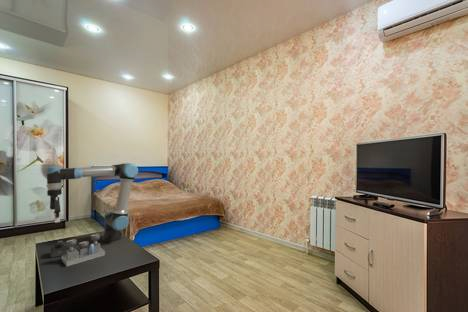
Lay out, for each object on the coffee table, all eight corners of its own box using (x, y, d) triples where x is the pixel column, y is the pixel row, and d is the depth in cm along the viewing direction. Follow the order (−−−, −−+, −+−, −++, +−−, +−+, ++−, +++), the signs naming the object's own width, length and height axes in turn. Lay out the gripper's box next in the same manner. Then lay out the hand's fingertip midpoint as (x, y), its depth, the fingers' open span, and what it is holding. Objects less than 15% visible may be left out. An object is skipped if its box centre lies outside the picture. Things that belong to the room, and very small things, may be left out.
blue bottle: (93, 252, 153) (93, 243, 153) (94, 253, 151) (94, 244, 151) (89, 253, 151) (89, 244, 151) (90, 254, 150) (90, 245, 150)
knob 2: (98, 242, 161) (98, 232, 161) (101, 244, 157) (101, 234, 158) (89, 245, 157) (89, 234, 157) (92, 247, 153) (92, 236, 153)
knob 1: (75, 248, 151) (75, 238, 151) (77, 250, 147) (77, 240, 147) (65, 251, 147) (65, 240, 147) (67, 253, 143) (67, 242, 143)
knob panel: (98, 249, 165) (98, 240, 165) (105, 255, 155) (105, 245, 155) (61, 260, 148) (61, 249, 148) (66, 266, 139) (66, 255, 139)
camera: (69, 249, 165) (69, 236, 166) (75, 252, 160) (75, 238, 160) (47, 256, 154) (47, 242, 154) (53, 259, 149) (53, 245, 149)
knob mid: (87, 250, 156) (87, 240, 156) (89, 252, 152) (89, 242, 152) (77, 253, 152) (77, 242, 152) (80, 255, 148) (80, 244, 148)
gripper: (44, 188, 156) (44, 218, 156) (50, 191, 139) (51, 225, 139) (57, 187, 161) (58, 216, 161) (65, 190, 145) (66, 222, 145)
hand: (55, 220), depth 150 cm, fingers open, 13 cm apart
